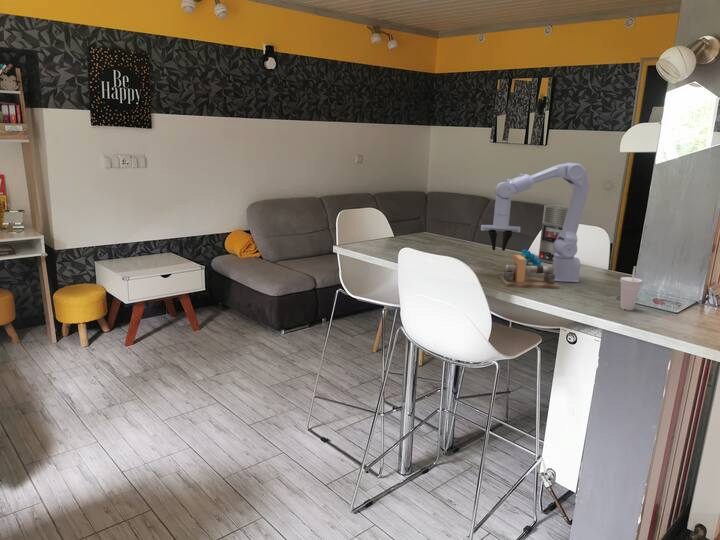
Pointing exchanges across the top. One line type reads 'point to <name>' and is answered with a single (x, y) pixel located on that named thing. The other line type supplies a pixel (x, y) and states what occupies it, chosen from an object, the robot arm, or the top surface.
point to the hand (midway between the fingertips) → (498, 250)
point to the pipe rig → (530, 281)
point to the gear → (530, 258)
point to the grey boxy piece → (551, 230)
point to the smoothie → (629, 291)
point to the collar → (519, 268)
